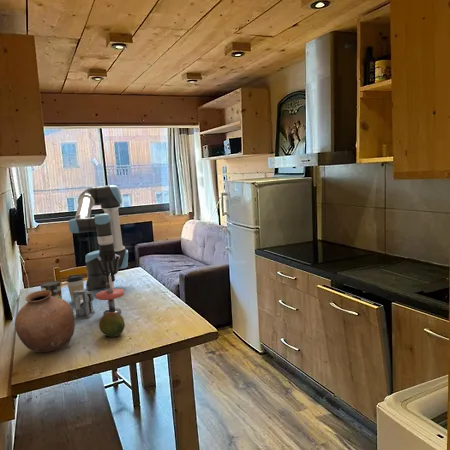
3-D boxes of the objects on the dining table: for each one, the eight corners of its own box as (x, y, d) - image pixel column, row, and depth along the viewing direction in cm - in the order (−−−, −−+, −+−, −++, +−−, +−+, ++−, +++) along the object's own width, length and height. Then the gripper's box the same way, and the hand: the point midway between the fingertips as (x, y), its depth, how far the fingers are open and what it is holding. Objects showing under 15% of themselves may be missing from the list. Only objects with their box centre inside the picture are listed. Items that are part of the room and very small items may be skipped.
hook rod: (87, 300, 223) (85, 288, 222) (93, 299, 223) (92, 287, 222) (75, 311, 205) (73, 299, 204) (81, 311, 205) (80, 298, 204)
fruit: (116, 327, 191) (114, 307, 189) (133, 333, 183) (131, 311, 181) (95, 336, 182) (92, 315, 181) (111, 342, 174) (109, 320, 173)
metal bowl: (106, 311, 216) (104, 294, 215) (123, 309, 216) (121, 293, 214) (101, 317, 207) (99, 300, 206) (118, 315, 207) (116, 298, 205)
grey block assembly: (80, 311, 219) (77, 286, 217) (97, 309, 219) (93, 285, 217) (71, 319, 207) (68, 294, 205) (89, 318, 206) (85, 292, 205)
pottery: (68, 333, 189) (61, 280, 185) (85, 348, 170) (77, 290, 167) (14, 349, 175) (5, 293, 172) (26, 367, 157) (16, 305, 153)
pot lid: (126, 296, 206) (125, 286, 205) (97, 302, 201) (96, 292, 200) (122, 289, 219) (121, 280, 218) (95, 294, 214) (93, 285, 213)
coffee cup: (88, 297, 242) (85, 273, 240) (81, 302, 233) (78, 277, 231) (74, 298, 243) (70, 273, 241) (66, 303, 234) (63, 278, 232)
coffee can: (67, 304, 233) (63, 280, 231) (56, 310, 223) (52, 285, 221) (51, 304, 235) (47, 280, 233) (39, 310, 225) (36, 286, 223)
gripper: (91, 246, 208) (97, 290, 212) (115, 243, 207) (121, 288, 210) (96, 243, 216) (103, 286, 219) (120, 241, 215) (126, 284, 218)
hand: (112, 287), depth 215 cm, fingers closed
